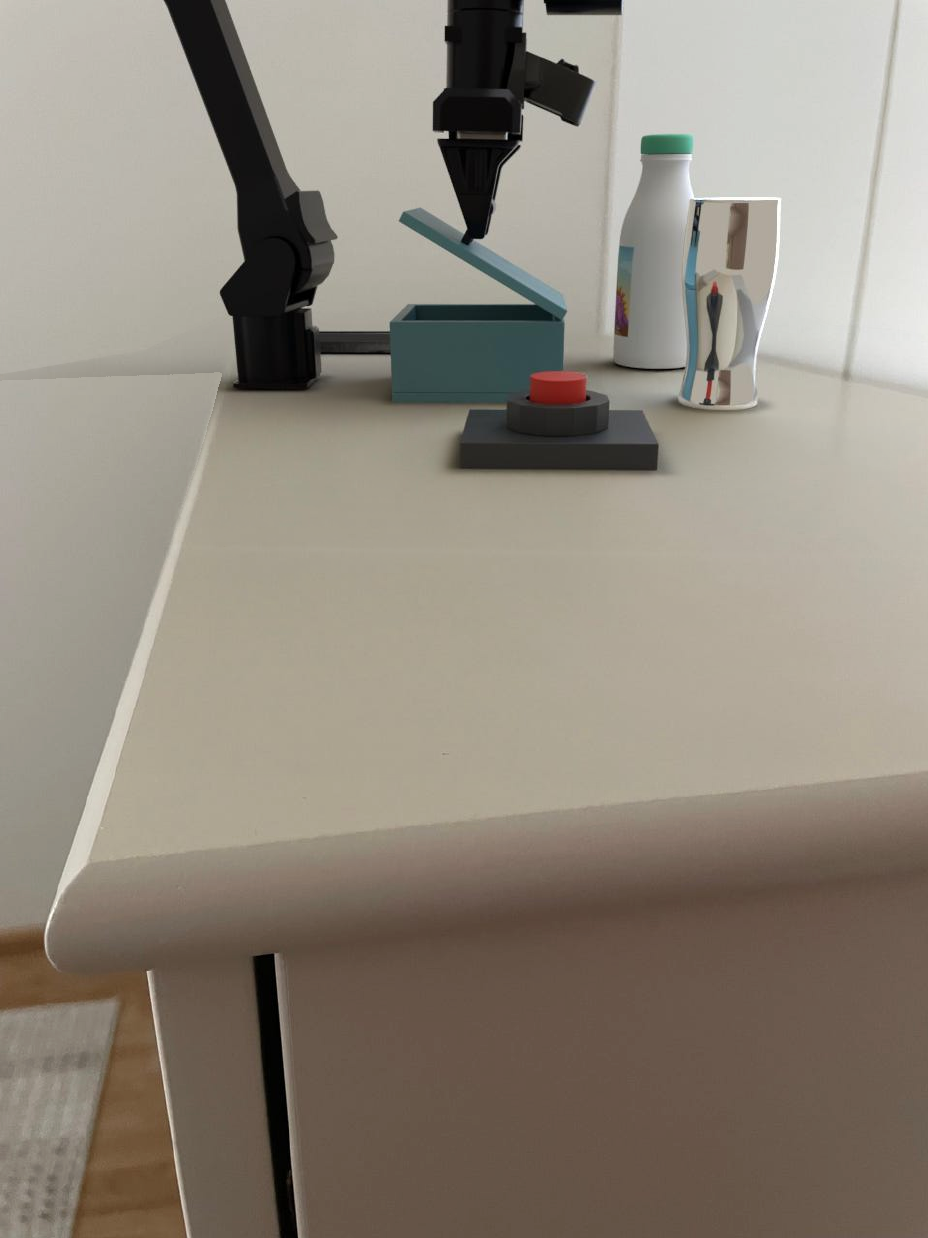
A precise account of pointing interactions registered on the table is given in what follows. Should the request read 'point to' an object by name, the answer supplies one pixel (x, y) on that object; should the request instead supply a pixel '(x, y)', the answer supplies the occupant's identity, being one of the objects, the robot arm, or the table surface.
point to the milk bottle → (654, 259)
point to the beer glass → (726, 297)
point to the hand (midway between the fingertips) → (479, 236)
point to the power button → (558, 387)
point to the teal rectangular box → (471, 351)
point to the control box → (558, 436)
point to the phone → (354, 341)
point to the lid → (485, 259)
